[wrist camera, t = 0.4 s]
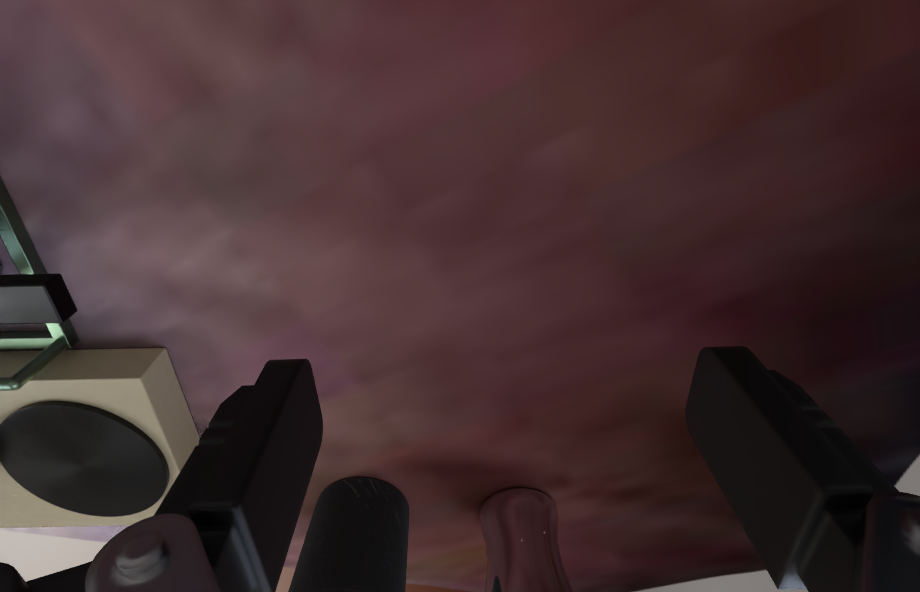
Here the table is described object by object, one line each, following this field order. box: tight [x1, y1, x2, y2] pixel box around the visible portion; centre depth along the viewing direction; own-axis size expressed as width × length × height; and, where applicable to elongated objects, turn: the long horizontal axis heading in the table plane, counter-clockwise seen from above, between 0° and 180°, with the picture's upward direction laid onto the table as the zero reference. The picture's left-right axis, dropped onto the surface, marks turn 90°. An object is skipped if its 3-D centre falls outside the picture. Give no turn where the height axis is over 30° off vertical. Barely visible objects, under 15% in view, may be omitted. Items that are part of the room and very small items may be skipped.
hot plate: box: [0, 348, 200, 528], centre depth 33 cm, size 19×13×3 cm
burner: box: [0, 401, 170, 517], centre depth 31 cm, size 10×10×1 cm
